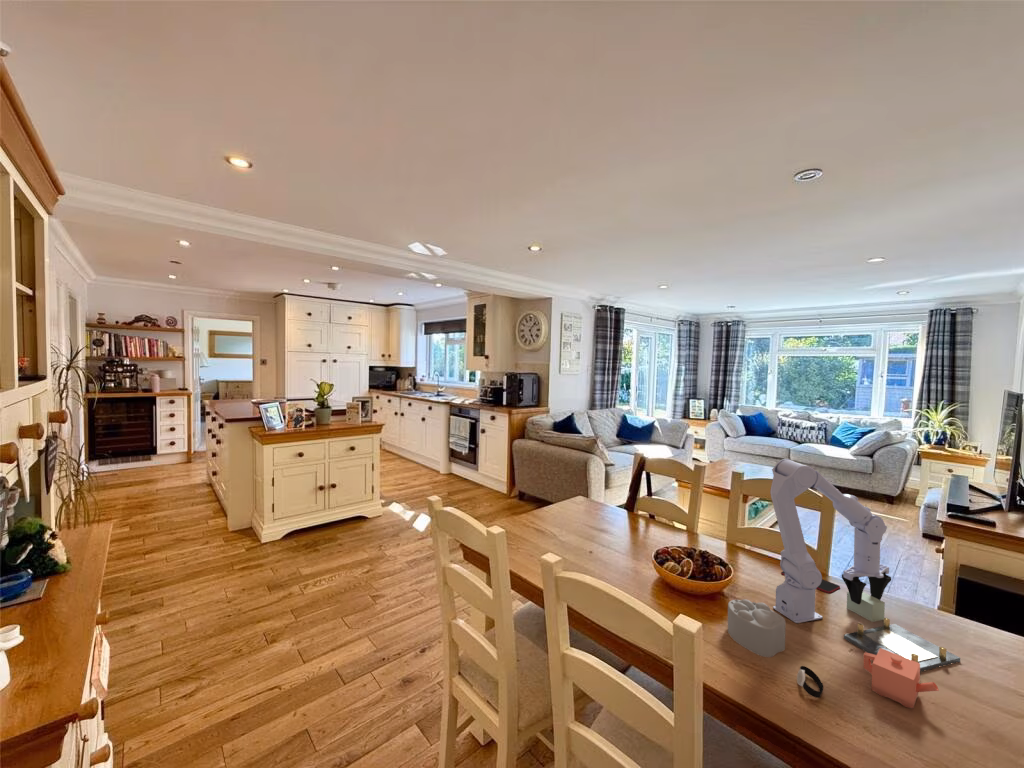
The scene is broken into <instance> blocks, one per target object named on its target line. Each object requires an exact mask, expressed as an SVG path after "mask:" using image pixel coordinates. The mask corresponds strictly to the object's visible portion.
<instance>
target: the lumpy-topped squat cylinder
mask: <svg viewBox="0 0 1024 768" xmlns="http://www.w3.org/2000/svg"><path fill="white" fill-rule="evenodd" d="M727 632H728V635H729V634H730V635H729V636H730V638H731V639H732V638H733V639H732V640H733V641H734V642H735V641H736V643H737V644H738V645H740V646H742V647H743V648H745V649H746V650H748V651H750V652H751V653H753V654H756V655H758V656H760V657H764V658H765V657H766V658H772V657H774V656H775V655H777V654H778V653H781V652H783V651H785V649H786V619H785V618H784V617H783V616H782V615H781V614H779V613H778V612H776V611H773V610H772V609H771V607H770V606H769V605H767V603H764V602H755V601H753V602H752V600H751V601H750V600H749V599H745V598H744V599H732V600H730V601H729V602H728V604H727Z"/></svg>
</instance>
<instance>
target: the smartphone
mask: <svg viewBox="0 0 1024 768" xmlns="http://www.w3.org/2000/svg"><path fill="white" fill-rule="evenodd" d="M780 574H781V575H782V576H784V577H785V572H784V571H783V570H782V571H781V572H780ZM839 589H841V587H840V585H838V584H836V583H833V582H830V581H828V580H825V579H823V578H822V582H821V584H820V585H819V586H818V587H817V589H816V590H819V591H821V592H823V593H826V594H832V593H834V592H835V591H838V590H839Z"/></svg>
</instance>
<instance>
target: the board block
mask: <svg viewBox="0 0 1024 768" xmlns="http://www.w3.org/2000/svg"><path fill="white" fill-rule="evenodd" d="M885 605H886V603H885V601H882V600H879V599H877V598H875V597H873V596H871V594H868V593H867V592H865V591H863V592H862V599H861V603H860V604H857V603H855V602H853V601H851V598H850V594H849V591H847V592H846V609H847V610H849V611H851V612H853V613H855V614H857V615H858V616H860V617H862V618H865V619H866V620H868V622H869V621H870V622H871V623H873V622H878V621H884V618H885V613H886V612H885V610H886V609H885V607H886V606H885Z"/></svg>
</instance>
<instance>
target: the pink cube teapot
mask: <svg viewBox="0 0 1024 768" xmlns="http://www.w3.org/2000/svg"><path fill="white" fill-rule="evenodd" d="M872 661H873V662H872ZM863 669H865V670H866V671H867V672H868V673H870V674H871V691H872V692H875V693H876V694H877V695H879V696H881V697H886V698H888V699H890V700H893V701H894V702H897V703H899V704H901V705H902V706H903V707H905V708H909V709H912V710H914V708H915V704H916V702H917V698H918V695H919V693H927V692H939V691H940V690H939V687H938V686H937V684H936V683H935V682H934V681H929V682H921V681H920V679H921V672H920V663H918V662H915V661H913V660H910V659H907V658H905V657H902V656H900V655H897V654H895V653H892V652H889V651H887V650H884V649H882V648H880V649H879V651H878V653H877V655H874V654H870V653H867V652H865V651H864V653H863ZM920 682H921V683H920Z"/></svg>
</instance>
